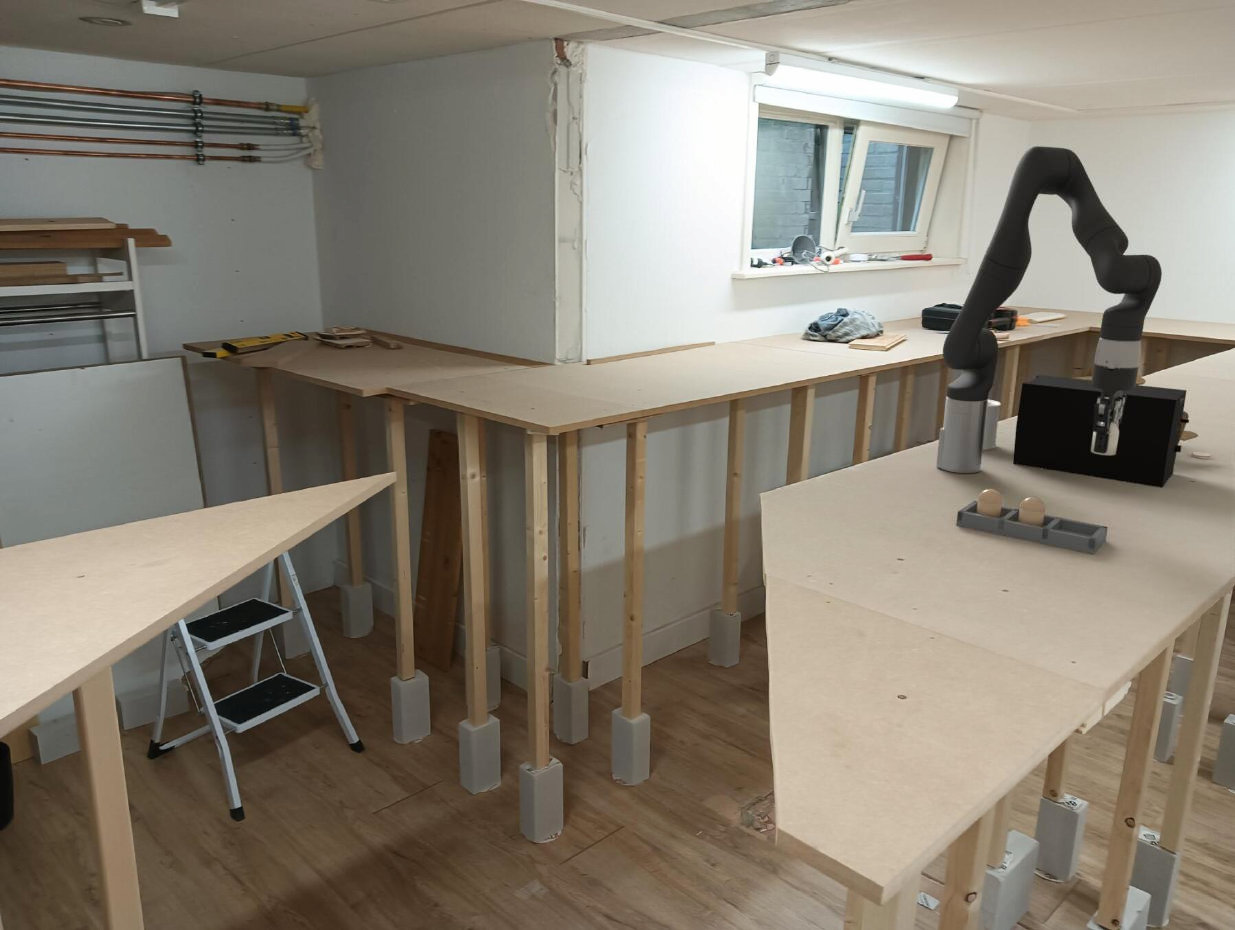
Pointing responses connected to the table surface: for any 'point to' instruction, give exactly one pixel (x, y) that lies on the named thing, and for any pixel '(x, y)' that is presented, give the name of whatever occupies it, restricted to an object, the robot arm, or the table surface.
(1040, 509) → the brown egg middle
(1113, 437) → the cream egg
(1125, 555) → the table surface
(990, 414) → the white tall cylinder
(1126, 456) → the uninterruptible power supply
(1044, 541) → the egg tray
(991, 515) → the brown egg back
